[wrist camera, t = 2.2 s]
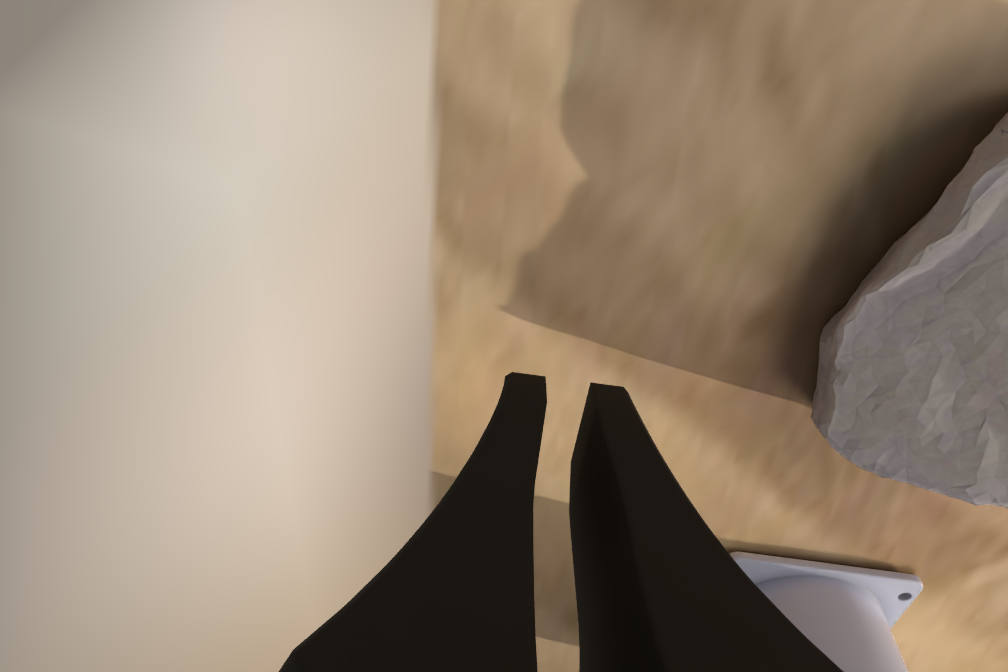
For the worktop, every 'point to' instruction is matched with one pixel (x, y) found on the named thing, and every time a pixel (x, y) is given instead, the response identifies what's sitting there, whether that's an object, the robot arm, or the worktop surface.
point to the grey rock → (930, 346)
